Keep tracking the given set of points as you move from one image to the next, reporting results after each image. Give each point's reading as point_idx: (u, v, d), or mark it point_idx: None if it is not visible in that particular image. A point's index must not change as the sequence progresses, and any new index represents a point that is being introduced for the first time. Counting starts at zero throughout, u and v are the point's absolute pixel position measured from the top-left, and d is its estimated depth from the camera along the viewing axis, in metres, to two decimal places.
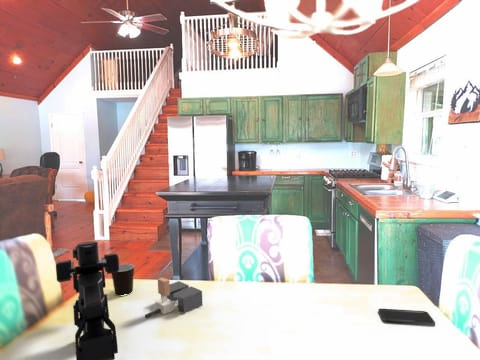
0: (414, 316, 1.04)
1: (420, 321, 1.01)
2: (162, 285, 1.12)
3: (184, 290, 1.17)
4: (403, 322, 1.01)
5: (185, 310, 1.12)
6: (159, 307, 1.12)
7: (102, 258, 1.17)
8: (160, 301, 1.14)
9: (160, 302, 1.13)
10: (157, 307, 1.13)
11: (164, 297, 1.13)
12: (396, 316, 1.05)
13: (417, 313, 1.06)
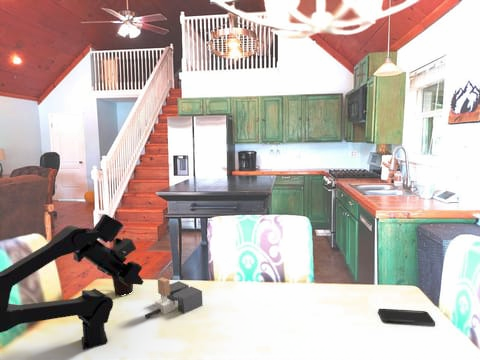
0: (414, 316, 1.05)
1: (420, 321, 1.01)
2: (162, 285, 1.12)
3: (184, 290, 1.17)
4: (403, 322, 1.01)
5: (185, 310, 1.12)
6: (159, 307, 1.12)
7: (137, 275, 1.02)
8: (160, 301, 1.14)
9: (160, 302, 1.13)
10: (157, 307, 1.13)
11: (164, 297, 1.13)
12: (396, 316, 1.05)
13: (417, 313, 1.06)
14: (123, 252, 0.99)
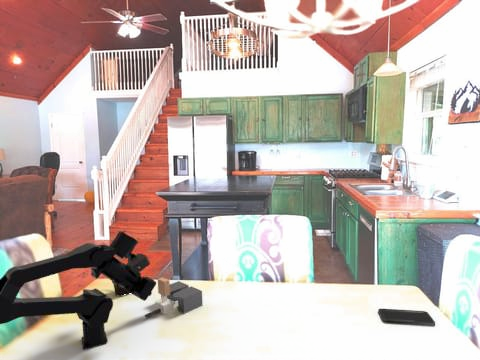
0: (414, 316, 1.05)
1: (420, 321, 1.01)
2: (162, 285, 1.12)
3: (184, 290, 1.17)
4: (403, 322, 1.01)
5: (185, 310, 1.12)
6: (159, 307, 1.12)
7: None
8: (160, 301, 1.14)
9: (160, 302, 1.13)
10: (157, 307, 1.13)
11: (164, 297, 1.13)
12: (396, 316, 1.05)
13: (417, 313, 1.06)
14: (138, 267, 1.03)
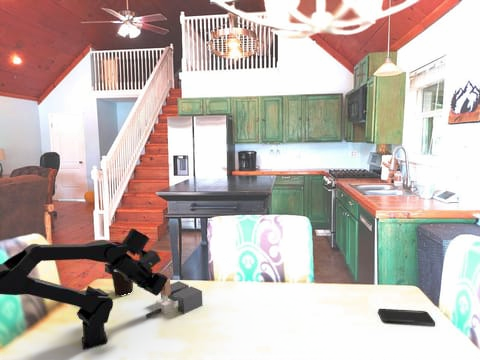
0: (414, 316, 1.05)
1: (420, 321, 1.01)
2: None
3: (184, 290, 1.17)
4: (403, 322, 1.01)
5: (185, 310, 1.12)
6: (160, 307, 1.13)
7: None
8: (161, 301, 1.14)
9: (161, 302, 1.13)
10: (158, 307, 1.13)
11: (165, 297, 1.13)
12: (396, 316, 1.05)
13: (417, 313, 1.06)
14: (149, 264, 1.06)
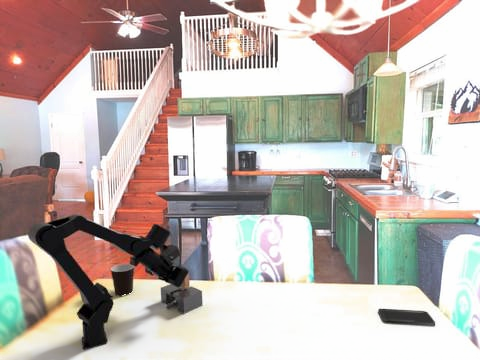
0: (414, 316, 1.05)
1: (420, 321, 1.01)
2: None
3: (184, 290, 1.17)
4: (403, 322, 1.01)
5: (185, 310, 1.12)
6: None
7: None
8: None
9: None
10: (177, 299, 1.19)
11: None
12: (397, 316, 1.05)
13: (417, 313, 1.06)
14: (171, 257, 1.12)
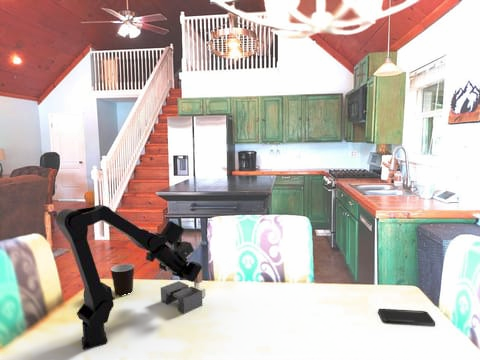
0: (414, 316, 1.05)
1: (420, 321, 1.01)
2: None
3: (184, 290, 1.17)
4: (403, 322, 1.01)
5: (185, 310, 1.12)
6: None
7: None
8: None
9: None
10: None
11: (196, 284, 1.23)
12: (397, 316, 1.05)
13: (417, 313, 1.06)
14: (184, 253, 1.16)
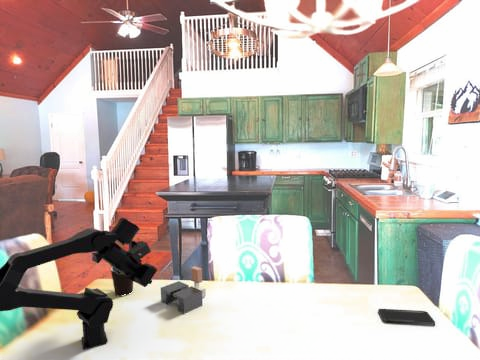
0: (414, 316, 1.05)
1: (420, 321, 1.01)
2: (196, 273, 1.22)
3: (184, 290, 1.17)
4: (403, 322, 1.01)
5: (185, 310, 1.12)
6: None
7: None
8: None
9: None
10: None
11: (197, 284, 1.23)
12: (397, 316, 1.04)
13: (417, 313, 1.06)
14: (139, 254, 1.03)
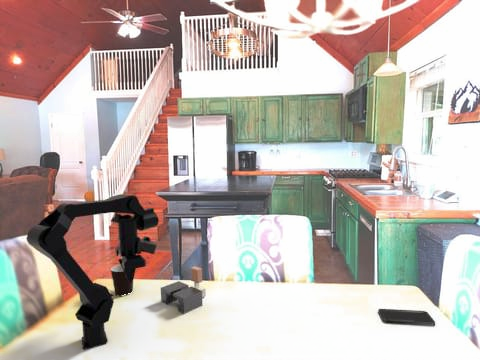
0: (414, 316, 1.05)
1: (420, 321, 1.01)
2: (196, 273, 1.22)
3: (184, 290, 1.17)
4: (403, 322, 1.01)
5: (185, 310, 1.12)
6: None
7: None
8: None
9: None
10: None
11: (197, 284, 1.23)
12: (397, 316, 1.04)
13: (417, 313, 1.06)
14: (143, 246, 1.05)
